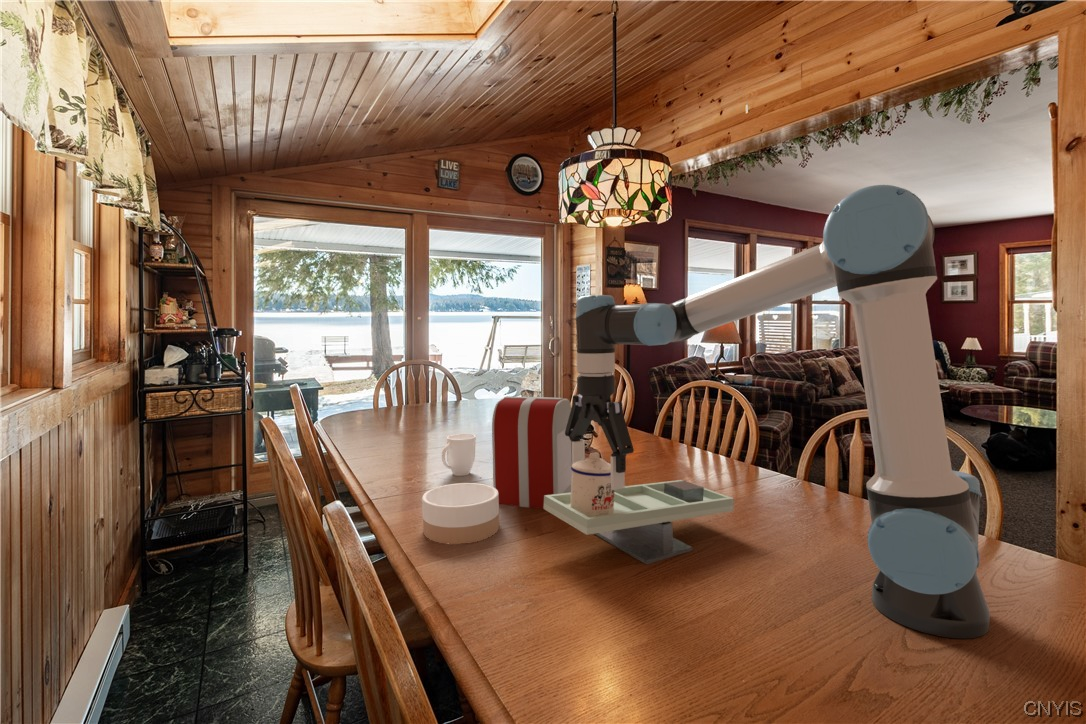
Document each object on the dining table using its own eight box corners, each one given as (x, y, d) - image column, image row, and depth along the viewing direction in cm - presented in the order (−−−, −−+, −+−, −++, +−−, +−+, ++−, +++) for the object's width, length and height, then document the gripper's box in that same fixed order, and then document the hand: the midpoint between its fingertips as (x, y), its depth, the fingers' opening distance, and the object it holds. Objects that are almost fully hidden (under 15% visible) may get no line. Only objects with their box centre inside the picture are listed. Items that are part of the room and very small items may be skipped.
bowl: (408, 531, 123) (406, 495, 122) (467, 511, 136) (466, 478, 135) (455, 552, 111) (453, 512, 111) (514, 527, 124) (514, 492, 123)
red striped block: (557, 510, 135) (555, 403, 133) (492, 503, 140) (489, 401, 138) (574, 490, 150) (573, 394, 148) (515, 485, 156) (513, 392, 154)
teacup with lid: (596, 521, 101) (599, 460, 101) (559, 510, 108) (562, 452, 107) (631, 509, 110) (634, 452, 110) (595, 498, 116) (598, 445, 116)
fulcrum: (692, 550, 110) (692, 519, 109) (646, 564, 104) (646, 531, 103) (635, 522, 125) (635, 494, 125) (593, 533, 119) (592, 504, 119)
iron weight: (703, 500, 119) (703, 487, 119) (682, 503, 116) (683, 490, 116) (683, 493, 124) (684, 480, 124) (663, 496, 121) (664, 483, 121)
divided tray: (733, 511, 116) (733, 498, 116) (586, 534, 98) (587, 519, 98) (680, 491, 130) (681, 479, 130) (543, 508, 112) (544, 495, 112)
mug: (462, 468, 175) (462, 431, 174) (481, 473, 169) (481, 435, 168) (434, 476, 166) (433, 438, 164) (453, 482, 160) (453, 442, 159)
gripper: (652, 378, 97) (653, 493, 99) (577, 368, 119) (578, 463, 121) (619, 381, 94) (620, 500, 95) (548, 370, 115) (549, 468, 117)
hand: (597, 479), depth 108 cm, fingers open, 13 cm apart
